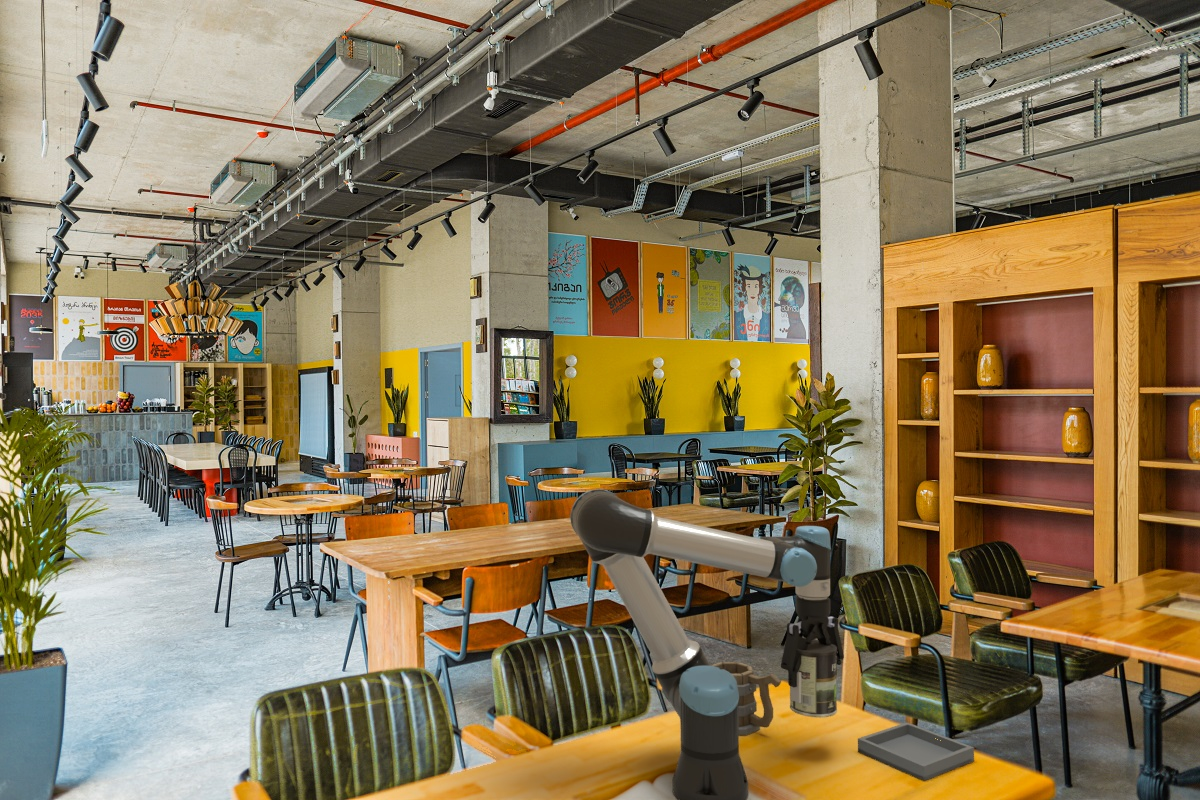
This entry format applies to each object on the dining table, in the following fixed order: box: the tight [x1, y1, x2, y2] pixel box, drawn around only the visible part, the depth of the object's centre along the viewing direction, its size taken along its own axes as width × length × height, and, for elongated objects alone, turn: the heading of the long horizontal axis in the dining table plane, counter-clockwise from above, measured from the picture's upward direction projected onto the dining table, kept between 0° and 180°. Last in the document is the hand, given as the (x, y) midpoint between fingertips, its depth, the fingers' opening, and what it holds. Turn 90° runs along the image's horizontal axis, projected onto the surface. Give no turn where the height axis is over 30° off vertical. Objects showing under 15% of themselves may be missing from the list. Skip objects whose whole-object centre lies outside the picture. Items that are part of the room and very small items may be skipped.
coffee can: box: [789, 639, 838, 718], centre depth 178 cm, size 10×10×14 cm
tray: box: [857, 721, 975, 782], centre depth 176 cm, size 17×17×3 cm
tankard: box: [710, 661, 782, 736], centre depth 192 cm, size 20×13×15 cm, turn 42°
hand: (812, 696), depth 178 cm, fingers closed on coffee can, 10 cm apart
